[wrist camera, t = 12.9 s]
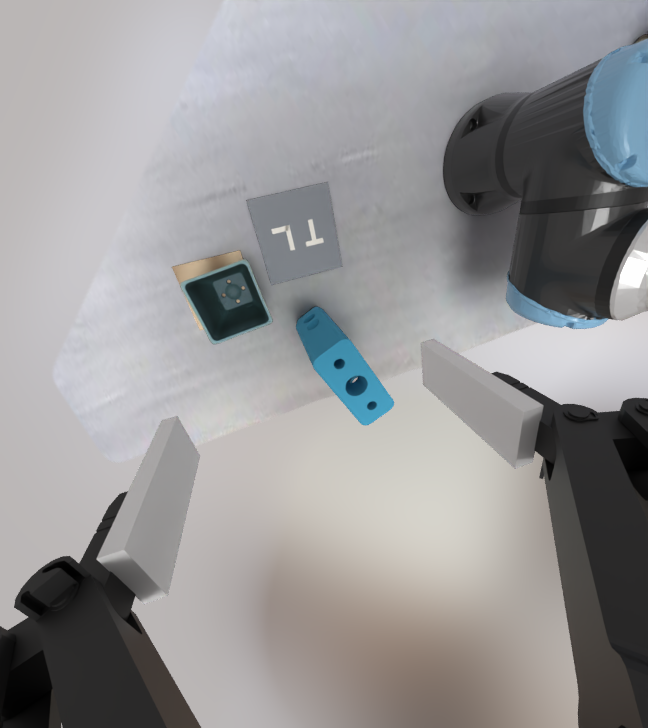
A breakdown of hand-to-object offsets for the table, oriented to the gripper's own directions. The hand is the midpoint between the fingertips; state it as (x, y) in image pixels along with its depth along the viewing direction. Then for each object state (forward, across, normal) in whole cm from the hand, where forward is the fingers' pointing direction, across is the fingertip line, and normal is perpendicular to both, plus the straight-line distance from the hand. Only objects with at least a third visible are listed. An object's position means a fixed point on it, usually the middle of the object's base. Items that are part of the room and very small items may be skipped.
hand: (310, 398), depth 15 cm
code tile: (+35, -6, -6) cm, 36 cm away
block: (+35, -6, +10) cm, 37 cm away
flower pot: (+34, +6, -1) cm, 35 cm away
